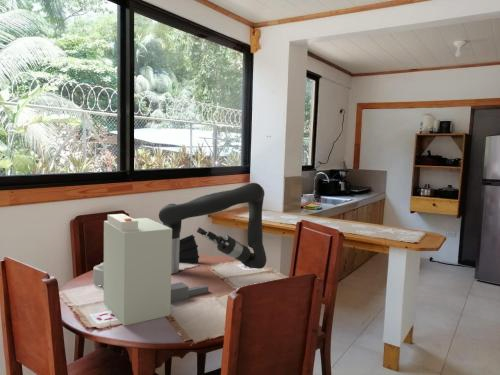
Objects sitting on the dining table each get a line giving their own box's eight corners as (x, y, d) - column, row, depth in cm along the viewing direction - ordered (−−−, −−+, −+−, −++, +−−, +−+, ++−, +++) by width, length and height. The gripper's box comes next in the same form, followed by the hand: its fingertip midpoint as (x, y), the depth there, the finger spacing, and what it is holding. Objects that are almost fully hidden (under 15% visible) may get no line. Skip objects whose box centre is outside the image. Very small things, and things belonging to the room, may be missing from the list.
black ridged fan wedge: (202, 261, 206) (191, 235, 206) (180, 270, 208) (169, 244, 208) (204, 259, 210) (193, 234, 209) (182, 268, 212) (171, 242, 212)
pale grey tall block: (103, 302, 152) (103, 211, 149) (145, 294, 162) (147, 209, 159) (123, 325, 133) (124, 222, 130) (170, 315, 143) (172, 218, 140)
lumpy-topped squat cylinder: (119, 287, 169) (119, 267, 168) (89, 286, 169) (89, 266, 168) (126, 279, 179) (127, 261, 178) (98, 278, 179) (98, 259, 178)
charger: (161, 297, 159) (161, 286, 159) (203, 289, 171) (203, 277, 170) (167, 302, 154) (167, 290, 154) (210, 293, 166) (210, 282, 165)
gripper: (225, 235, 179) (198, 220, 170) (243, 242, 168) (215, 226, 159) (217, 250, 178) (190, 235, 169) (235, 258, 166) (206, 243, 157)
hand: (202, 231), depth 164 cm, fingers open, 8 cm apart
